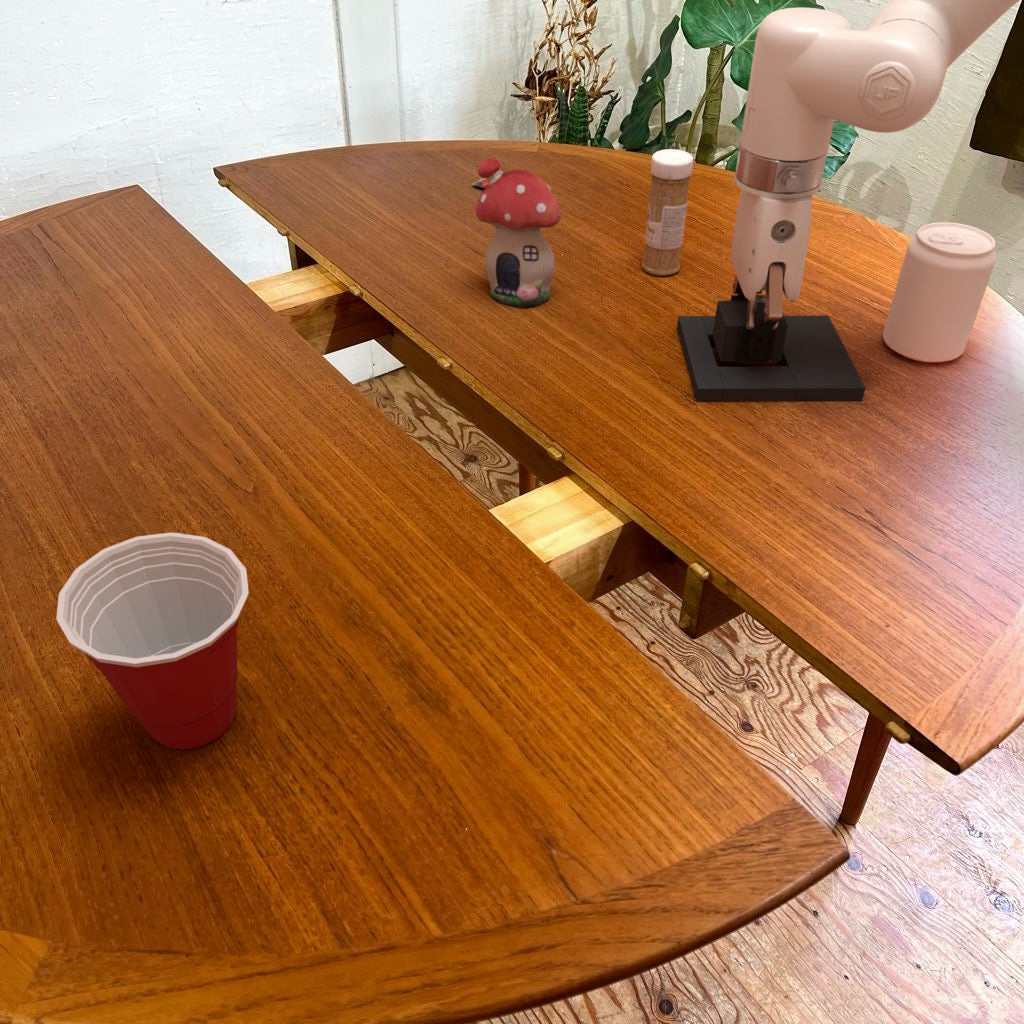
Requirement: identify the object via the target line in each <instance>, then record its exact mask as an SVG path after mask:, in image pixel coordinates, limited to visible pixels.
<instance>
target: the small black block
mask: <svg viewBox="0 0 1024 1024" xmlns="http://www.w3.org/2000/svg"><path fill="white" fill-rule="evenodd" d="M765 306H766V304H756V314H757V313H758V312H759V311H764V309H765ZM747 309H748V301H730V300H718V301H717V303H716V310H715V315H714V316H715V322H714V328H713V335H712V336H713V339H714V342H715V345H716V347H715V348H716V352H717V355H718V358H719V361H720V362H738V361H737V358H736V357H737V351H738V346H739V340H740V334H741V329H742V325H746V319H747ZM756 314H755V315H756ZM784 316H785V315H784V313H783V314H782V319H781V320H780V321H778V326H777V330H776V333H775V338H774V343H773V348H772V353H771V358H770V361H769V362H779V361H781V358H782V353H783V348H784V344H785V339H786V334H787V329H788V324H787V322H786V320H785V317H784Z"/></svg>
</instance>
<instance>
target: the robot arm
mask: <svg viewBox="0 0 1024 1024" xmlns="http://www.w3.org/2000/svg"><path fill="white" fill-rule="evenodd" d="M1019 1H1020V0H889V1H888V3H886V4H885V6H884V7H883V8H882V9H881V10H880V11H879V12H878V13H877V14H876V15H875V17H874V18H873V19H872V20H871V21H870V22H869V24H868V25H867V27H866V28H865V29H864V30H852V27H851V24H850V22H849V21H848V20H847V19H846V18H845V16H843V15H841V14H839V13H837V12H834V11H831V10H827V9H822V8H817V7H816V8H814V7H788V8H782V9H777V10H775V11H772V12H770V13H769V14H767V15H766V16H765V17H764V18H763V19H762V21H761V22H760V23H759V25H758V29H757V32H756V37H755V41H754V49H753V55H752V62H751V69H750V76H749V81H748V88H747V95H746V100H745V101H746V102H745V107H744V113H743V114H744V115H743V120H742V128H741V133H740V140H739V147H738V153H737V160H736V166H735V172H734V179H733V180H734V184H735V185H736V186H737V187H738V188H739V189H740V194H739V200H738V205H737V209H736V214H735V220H734V227H733V232H732V240H731V247H730V248H731V249H730V260H731V264H732V268H733V270H734V273H735V275H734V279H733V283H732V294H731V295H730V300H729V301H748V309H747V319H746V325H742V329H741V334H740V340H739V346H738V351H737V357H736V358H737V361H736V362H737V363H738V364H768V363H770V362H771V361H770V358H771V353H772V348H773V343H774V338H775V333H776V330H777V326H778V321H780V320H781V319H782V314H783V315H784V313H783V309H784V307H783V305H784V303H783V301H784V298H783V295H784V297H785V299H786V301H787V302H790V303H795V302H797V301H798V299H799V298H800V295H801V289H802V284H803V280H804V279H803V278H804V274H805V273H804V272H805V267H806V260H807V254H808V247H809V243H810V242H809V241H810V234H811V224H812V215H813V214H812V213H813V195H815V194H817V193H818V192H819V191H820V189H821V185H822V180H823V175H824V171H825V165H826V161H827V157H828V152H829V149H830V143H831V138H832V133H833V128H834V125H835V121H837V122H841V123H843V124H846V125H849V126H852V127H855V128H858V129H861V130H865V131H869V132H875V133H886V134H887V133H888V134H889V133H890V134H891V133H895V132H901V131H904V130H907V129H910V128H911V127H914V126H915V125H916V124H918V123H919V122H921V121H922V120H923V119H924V118H925V117H926V116H927V115H928V114H929V113H930V112H931V111H932V109H933V107H934V106H935V105H936V103H937V101H938V98H939V96H940V94H941V90H942V88H943V85H944V81H945V78H946V74H947V70H948V69H949V68H950V66H952V64H953V63H954V62H955V61H956V60H957V59H958V58H960V56H961V55H962V54H963V53H965V51H966V50H968V49H969V48H970V47H971V45H973V44H974V43H975V42H976V41H977V40H978V39H979V38H980V37H981V36H982V35H983V34H984V33H985V32H986V31H987V30H988V29H989V28H991V26H993V25H994V24H995V23H996V22H997V21H998V20H999V19H1000V18H1001V17H1002V16H1003V15H1005V14H1006V13H1007V12H1008V11H1009V10H1010V9H1012V8H1013V6H1015V5H1016V4H1017V3H1018V2H1019ZM763 291H765V294H762V292H763ZM756 304H766V306H765V309H764V311H759V312H758V313H757V314H756ZM755 314H756V315H755Z"/></svg>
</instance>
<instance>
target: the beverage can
mask: <svg viewBox="0 0 1024 1024" xmlns="http://www.w3.org/2000/svg"><path fill="white" fill-rule="evenodd" d="M906 247H907V248H906V250H905V254H904V258H903V262H902V264H901V268H900V272H899V275H898V278H897V283H896V285H895V290H894V293H893V296H892V300H891V303H890V307H889V311H888V314H887V317H886V321H885V325H884V328H883V331H882V338H883V341H884V344H886V345H887V347H889V348H890V349H891V350H892V351H894V352H895V353H897V354H898V355H901V356H902V357H905V358H908V359H910V360H914V361H918V362H925V363H942V362H948V361H952V360H955V359H957V358H960V357H961V356H962V355H963V353H965V350H966V347H967V344H968V342H969V338H970V336H971V333H972V330H973V327H974V325H975V321H976V319H977V315H978V313H979V310H980V307H981V304H982V301H983V298H984V295H985V293H986V290H987V288H988V284H989V281H990V278H991V275H992V273H993V270H994V267H995V264H996V262H997V253H996V249H995V248H996V240H995V239H994V237H993V236H992V235H991V234H989V233H988V232H986V231H984V230H982V229H980V228H978V227H974V226H972V225H968V224H963V223H958V222H950V221H949V222H946V221H945V222H944V221H943V222H940V221H939V222H931V223H927V224H923V225H922V226H921V227H919V228H918V230H917V231H916V234H915V235H914V236H912V237H911V239H910V240H909V242H908V244H907V246H906Z"/></svg>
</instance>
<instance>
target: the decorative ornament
mask: <svg viewBox="0 0 1024 1024" xmlns="http://www.w3.org/2000/svg"><path fill="white" fill-rule="evenodd" d="M477 175H478V176H479V177H480V178H483V179H485V178H486V179H487V181H488V184H487V186H486V188H484V189H483V191H482V193H481V194H480V195H479V197H478V199H477V202H476V205H475V215H476V218H477V220H479V221H480V222H482V223H485V224H490V225H492V226H493V227H494V228H495V231H494V233H493V235H492V236H491V238H490V240H489V242H488V245H487V248H486V250H485V256H484V267H485V272H486V275H487V279H488V281H489V286H490V287H489V288H490V292H489V294H490V296H491V297H493V298H494V299H495V300H496V301H498V302H500V303H501V304H504V305H509V306H514V307H517V308H518V307H519V308H526V307H536V306H539V305H542V304H543V303H545V302H548V300H549V298H550V295H551V285H552V280H553V278H554V274H555V266H556V262H555V255H554V253H553V250H552V246H551V245H550V244H549V242H548V240H547V238H546V237H545V235H544V234H543V232H542V230H541V229H547V228H552V227H554V226H556V225H557V224H559V222H560V220H561V217H562V212H561V208H560V204H559V202H558V199H557V198H556V196H555V195H554V192H553V190H552V189H551V187H550V185H549V184H548V183H546V182H545V181H544V180H543V179H541V177H539V176H537V175H536V174H535V173H533V172H531V171H528V170H525V169H519V168H517V169H516V168H515V169H512V170H508V171H502V170H501V163H500V161H499V160H498V159H496V158H494V157H493V158H487V159H485V160H484V161H482V162H481V163H480V164H479V165H478V168H477Z"/></svg>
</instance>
